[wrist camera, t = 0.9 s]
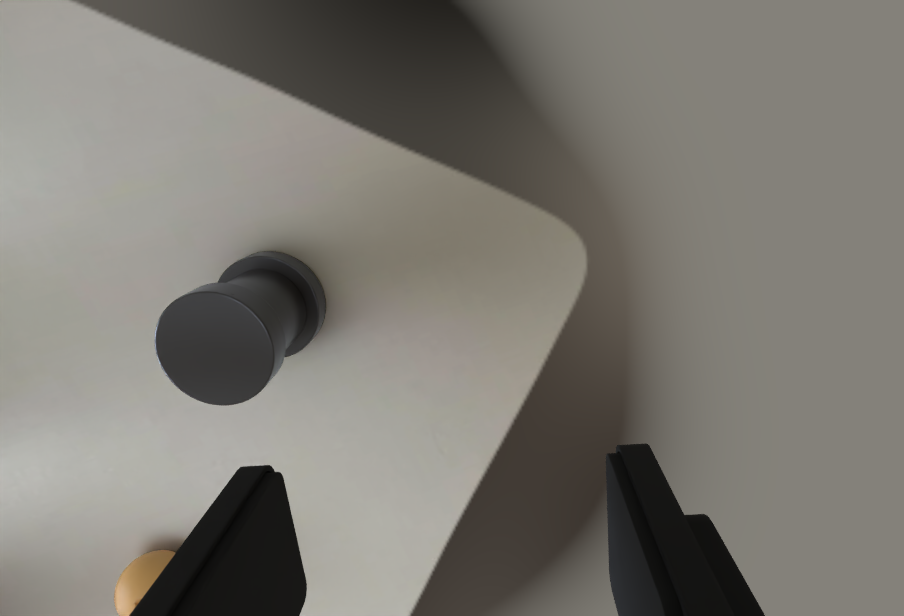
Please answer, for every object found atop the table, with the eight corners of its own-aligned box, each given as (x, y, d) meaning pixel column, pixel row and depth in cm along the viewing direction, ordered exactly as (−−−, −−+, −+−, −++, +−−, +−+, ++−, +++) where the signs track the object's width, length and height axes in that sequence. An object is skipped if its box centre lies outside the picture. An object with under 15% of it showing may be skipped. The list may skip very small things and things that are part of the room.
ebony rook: (213, 256, 28) (133, 292, 22) (316, 246, 27) (264, 280, 21) (236, 353, 29) (167, 414, 23) (334, 346, 29) (290, 406, 23)
